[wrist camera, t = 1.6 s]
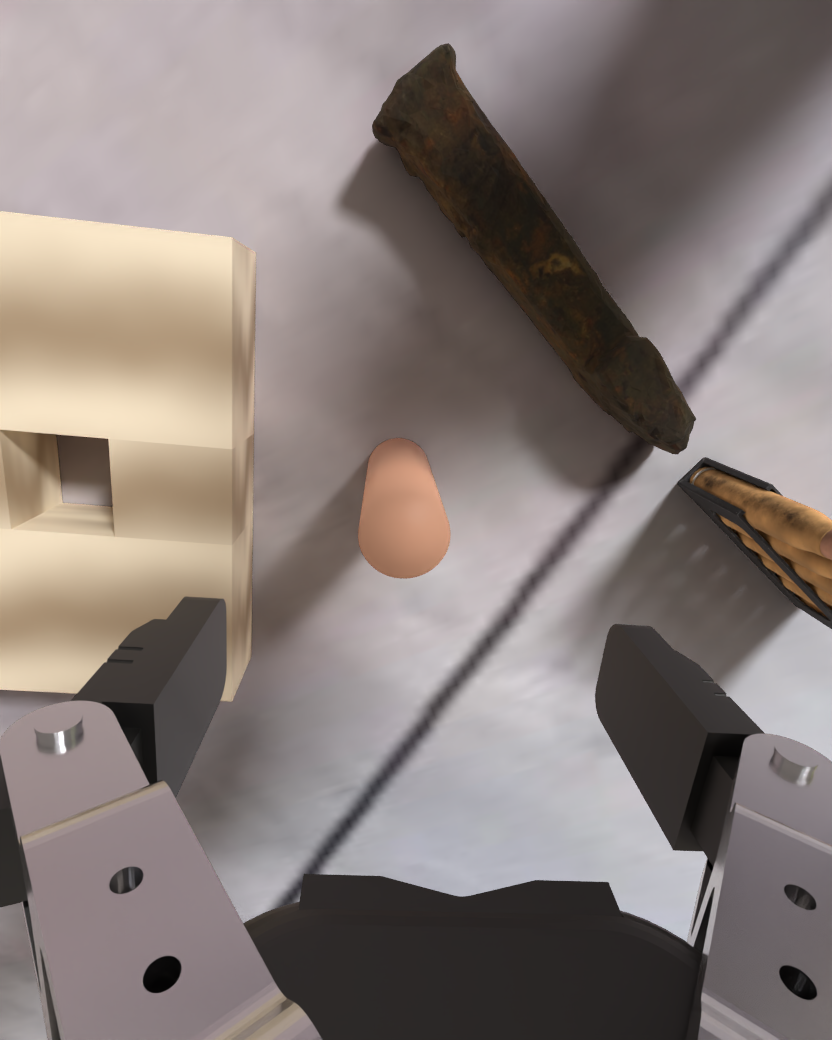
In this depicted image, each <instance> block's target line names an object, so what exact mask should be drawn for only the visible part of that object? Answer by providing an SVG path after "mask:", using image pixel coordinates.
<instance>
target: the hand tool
mask: <svg viewBox="0 0 832 1040" xmlns="http://www.w3.org/2000/svg"><path fill="white" fill-rule="evenodd" d="M455 68H456V54H455V51H454V49H453V48H452V46H451V45H450V44H444V45H440V46H439V47H437V48H436V49H435V50H433V51H432V52H431V53H430V54H429V55H428V56H426V57H425V58H424V59H423V60H422V61H421V62H419V63H418V64H417V65H416V66H415V67H414V68H413V69H411V70H410V71H409V72H408V73H406V74H405V75H404V76H402V77H401V78H400V79H398V80H397V82H396V84H395V86H394V88H393V91H392V92H391V94H390V95H389V97H388V98H387V100H386V101H385V102H384V103H383V105H382V108H381V111H380V112H379V114H378V116H377V117H376V119H375V120H374V122H373V125H372V129H373V134H374V136H375V138H376V139H378V140H379V141H380V142H381V143H383V144H385V145H388V146H392V147H396V149H397V150H398V151H399V154H400V156H401V159H402V162H403V164H404V166H405V169H406V171H407V172H408V173H409V174H410V175H411V176H416V177H419V178H420V179H421V180H422V181H423V182H424V184H425V186H426V189H427V190H428V191H429V193H430V194H431V195H432V197H433V198H434V199H435V201H436V202H437V203H438V205H439V207H440V209H441V211H442V212H443V213H444V215H445V216H446V217H447V218H448V219H449V220H450V221H451V222H452V223H453V224H454V226H455V228H456V230H457V231H458V233H459V234H460V235H461V237H467V239H468V240H469V243H470V246H471V248H472V249H474V250H475V251H476V252H477V253H478V254H479V255H480V256H481V258H482V259H483V261H484V262H485V264H486V265H487V267H488V268H489V269H490V270H491V271H492V272H493V273H494V274H495V275H496V277H497V278H498V279H499V280H500V282H501V283H502V284H503V285H504V287H505V288H506V289H507V291H508V292H509V293H510V294H511V296H512V297H513V298H514V299H515V300H516V302H517V303H518V304H519V305H520V307H521V308H522V309H523V310H524V312H525V313H526V314H527V315H528V317H529V318H530V319H531V320H532V322H533V323H534V325H535V326H536V327H537V329H538V330H539V331H540V332H541V334H542V335H543V336H544V337H545V339H546V340H547V341H548V342H549V343H550V345H551V346H552V347H553V349H554V350H555V351H556V353H557V354H558V355H559V356H560V358H561V359H562V360H563V361H564V362H565V364H566V365H567V366H568V368H569V369H570V371H571V372H572V374H573V377H574V379H575V380H576V381H577V382H578V384H579V385H580V386H581V387H582V388H583V389H584V390H585V391H586V393H587V394H588V395H589V396H590V397H591V398H592V399H593V400H594V401H595V402H596V403H597V404H598V405H599V406H600V407H601V408H602V409H603V410H604V411H606V412H607V413H608V414H609V415H612V416H613V417H614V418H615V419H616V420H617V421H618V422H620V424H622V425H623V427H624V428H625V429H626V430H627V431H629V432H634V433H635V434H637V435H638V436H640V437H641V438H643V439H644V440H645V441H647V442H648V444H652V445H654V446H656V447H658V448H660V449H662V450H665V451H667V452H669V453H672V454H679V452H681V451H683V450H684V449H685V448H687V444H688V441H689V435H690V433H691V431H692V429H693V425H694V421H695V420H696V418H695V416H694V414H693V413H692V411H691V409H690V408H689V406H688V404H687V402H686V400H685V398H684V396H683V394H682V392H681V391H680V389H679V388H678V386H677V385H676V384H675V382H674V380H673V378H672V376H671V374H670V372H669V369H668V367H667V366H666V364H665V362H664V360H663V358H662V356H661V354H660V353H659V351H658V350H657V349H656V347H655V346H654V345H653V344H652V343H651V342H650V341H649V340H648V339H647V338H643V337H639V336H638V334H637V333H636V331H635V330H634V328H633V326H632V324H631V322H630V321H629V320H628V319H627V317H626V316H625V314H623V312H622V311H621V310H620V308H619V307H618V306H617V304H616V303H615V302H614V300H613V299H612V297H611V296H610V295H609V293H608V292H607V291H606V290H605V289H604V287H603V286H602V284H601V282H600V280H599V278H598V276H597V274H596V273H595V272H594V270H593V269H592V268H591V266H590V265H589V264H588V262H587V261H586V259H585V258H584V256H583V255H582V253H581V251H580V249H579V248H578V246H577V245H576V243H575V242H574V240H573V239H572V237H571V236H570V234H569V233H568V232H567V230H566V229H565V227H564V226H563V224H562V223H561V222H560V220H559V219H558V217H557V216H556V214H555V213H554V211H553V210H552V209H551V207H550V206H549V204H548V203H547V201H546V200H545V198H544V197H543V195H542V194H541V193H540V192H539V190H538V189H537V187H536V186H535V184H534V183H533V181H532V180H531V178H530V177H529V176H528V174H527V173H526V171H525V170H524V169H523V167H522V166H521V164H520V163H519V161H518V160H517V158H516V156H515V155H514V154H513V152H512V151H511V149H510V148H509V147H508V145H507V144H506V143H505V141H504V140H503V139H502V138H501V136H500V135H499V134H498V132H497V131H496V130H495V128H494V127H493V126H492V125H491V123H490V122H489V120H488V119H487V117H486V116H485V114H484V113H483V111H482V110H481V109H480V107H479V106H478V104H477V103H476V101H475V100H474V98H473V97H472V96H471V94H470V93H469V91H468V90H467V88H466V87H465V85H464V83H463V82H462V80H461V78H460V77H459V75H458V73H457V71H456V69H455Z"/></svg>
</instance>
